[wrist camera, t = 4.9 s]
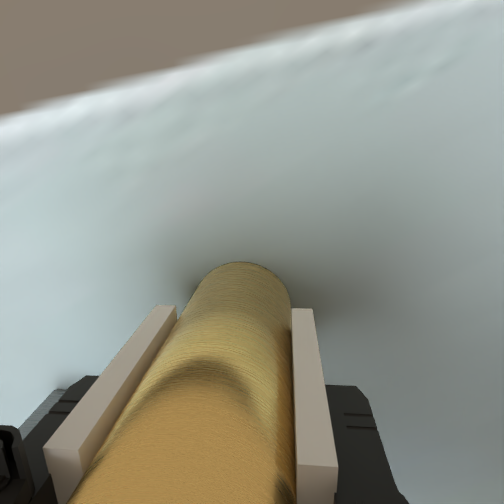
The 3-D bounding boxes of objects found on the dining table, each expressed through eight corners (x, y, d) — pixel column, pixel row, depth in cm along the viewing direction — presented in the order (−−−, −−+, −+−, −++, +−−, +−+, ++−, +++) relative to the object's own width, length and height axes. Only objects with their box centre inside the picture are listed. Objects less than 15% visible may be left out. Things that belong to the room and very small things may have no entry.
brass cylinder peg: (291, 262, 15) (313, 646, 4) (290, 351, 16) (302, 843, 5) (190, 261, 15) (-81, 603, 4) (197, 348, 17) (6, 796, 5)
